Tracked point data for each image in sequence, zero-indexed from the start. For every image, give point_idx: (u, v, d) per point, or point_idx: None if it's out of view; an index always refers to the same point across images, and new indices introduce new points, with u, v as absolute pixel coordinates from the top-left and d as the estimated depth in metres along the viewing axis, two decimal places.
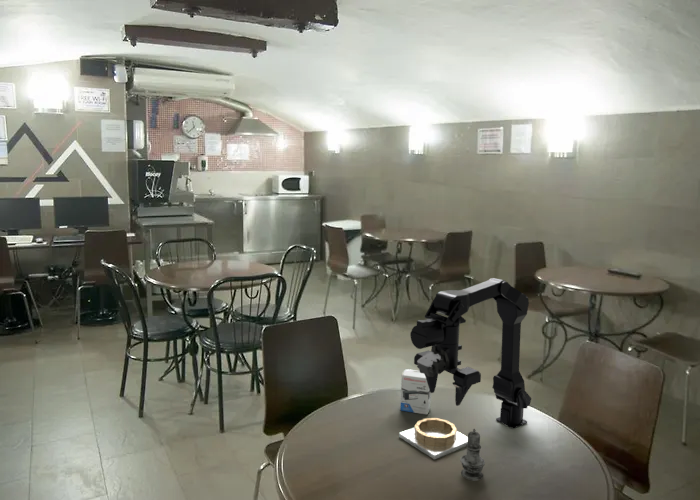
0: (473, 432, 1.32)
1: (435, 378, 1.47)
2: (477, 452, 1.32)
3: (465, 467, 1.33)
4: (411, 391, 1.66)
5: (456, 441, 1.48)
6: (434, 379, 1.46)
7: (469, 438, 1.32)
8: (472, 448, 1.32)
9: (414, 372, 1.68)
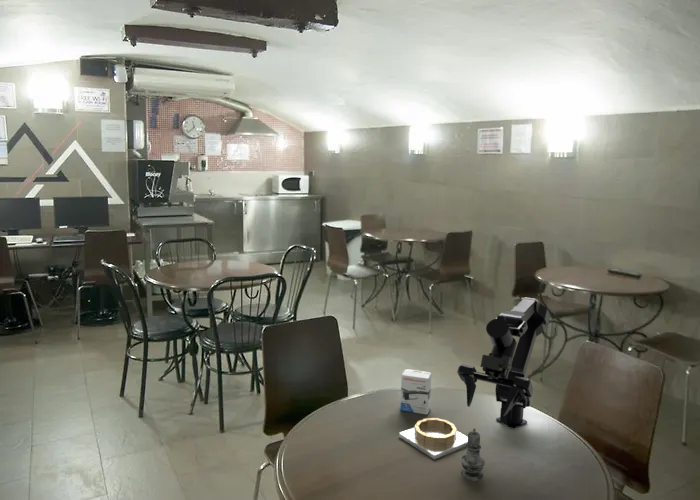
0: (473, 432, 1.32)
1: (472, 394, 1.44)
2: (477, 452, 1.32)
3: (465, 467, 1.33)
4: (411, 391, 1.66)
5: (456, 441, 1.48)
6: (471, 395, 1.44)
7: (469, 438, 1.32)
8: (472, 448, 1.32)
9: (414, 372, 1.68)
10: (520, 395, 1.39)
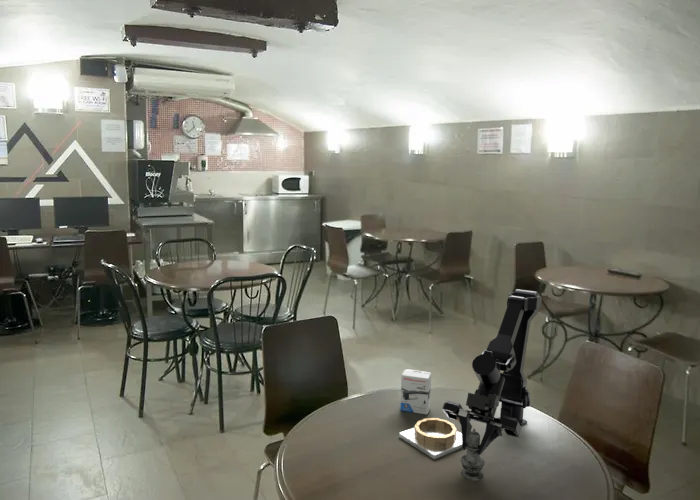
0: (473, 432, 1.32)
1: None
2: (477, 452, 1.32)
3: (465, 467, 1.33)
4: (411, 391, 1.66)
5: (456, 441, 1.48)
6: (467, 436, 1.36)
7: (469, 438, 1.32)
8: (472, 448, 1.32)
9: (414, 372, 1.68)
10: (497, 432, 1.34)
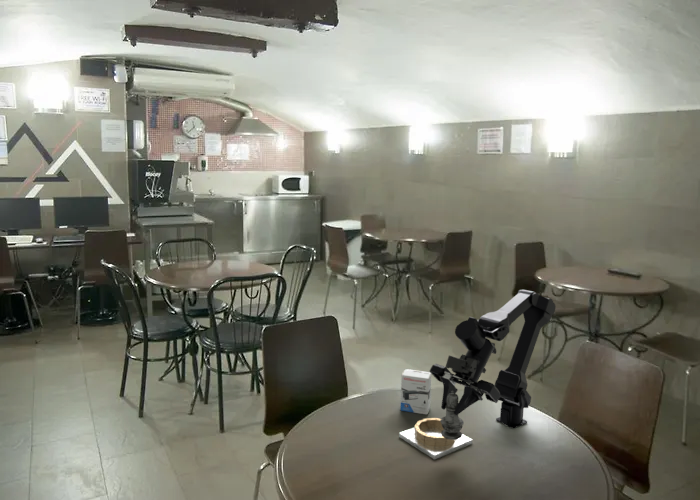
0: (451, 393, 1.38)
1: None
2: None
3: (443, 426, 1.39)
4: (411, 391, 1.66)
5: (456, 441, 1.48)
6: None
7: (447, 399, 1.39)
8: (449, 408, 1.38)
9: (414, 372, 1.68)
10: (476, 396, 1.38)
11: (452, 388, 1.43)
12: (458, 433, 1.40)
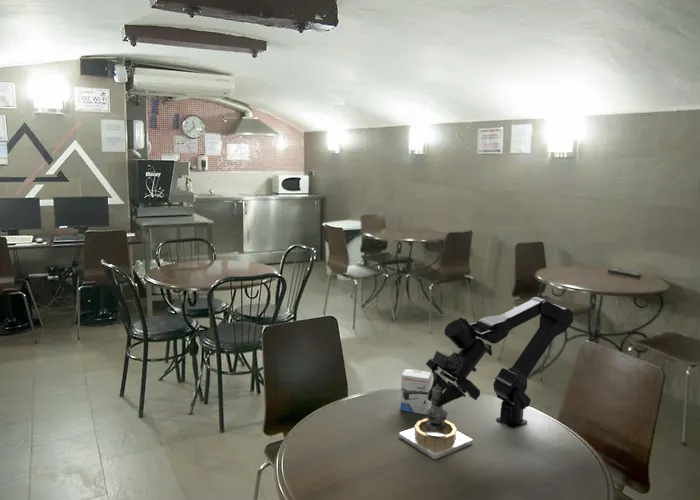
0: (436, 387, 1.48)
1: None
2: None
3: (427, 416, 1.49)
4: (411, 391, 1.66)
5: (456, 441, 1.48)
6: None
7: (432, 391, 1.48)
8: (433, 400, 1.48)
9: (414, 372, 1.68)
10: (458, 392, 1.46)
11: (442, 382, 1.51)
12: (442, 425, 1.49)
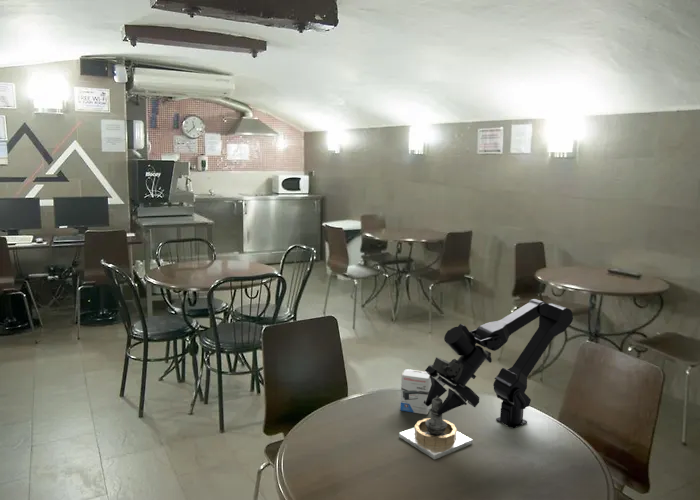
0: (436, 398, 1.48)
1: None
2: (437, 416, 1.48)
3: (426, 426, 1.50)
4: (411, 391, 1.66)
5: (456, 441, 1.48)
6: (435, 396, 1.52)
7: None
8: (432, 411, 1.48)
9: (414, 372, 1.68)
10: (460, 400, 1.45)
11: (439, 388, 1.53)
12: (441, 435, 1.49)
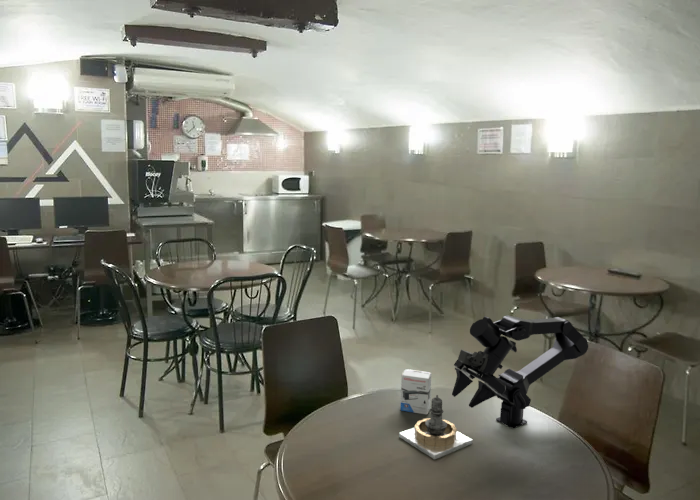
0: (435, 398, 1.48)
1: (463, 387, 1.57)
2: (437, 416, 1.48)
3: None
4: (411, 391, 1.66)
5: (456, 441, 1.48)
6: (461, 387, 1.57)
7: None
8: (432, 411, 1.48)
9: (414, 372, 1.68)
10: (490, 391, 1.47)
11: (465, 378, 1.58)
12: None
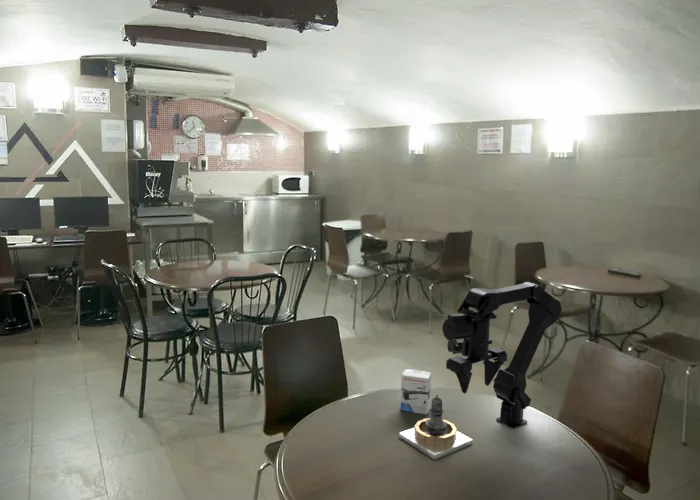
0: (435, 398, 1.48)
1: (490, 374, 1.54)
2: (437, 416, 1.48)
3: None
4: (411, 391, 1.66)
5: (456, 441, 1.48)
6: (490, 374, 1.54)
7: None
8: (432, 411, 1.48)
9: (414, 372, 1.68)
10: None
11: (489, 365, 1.54)
12: None
